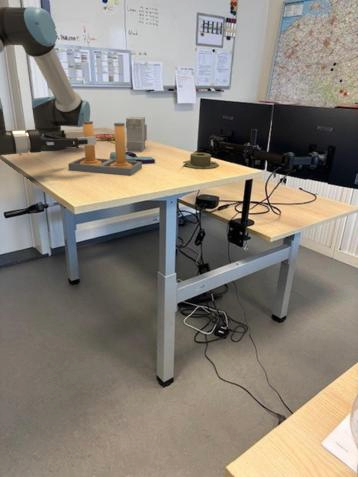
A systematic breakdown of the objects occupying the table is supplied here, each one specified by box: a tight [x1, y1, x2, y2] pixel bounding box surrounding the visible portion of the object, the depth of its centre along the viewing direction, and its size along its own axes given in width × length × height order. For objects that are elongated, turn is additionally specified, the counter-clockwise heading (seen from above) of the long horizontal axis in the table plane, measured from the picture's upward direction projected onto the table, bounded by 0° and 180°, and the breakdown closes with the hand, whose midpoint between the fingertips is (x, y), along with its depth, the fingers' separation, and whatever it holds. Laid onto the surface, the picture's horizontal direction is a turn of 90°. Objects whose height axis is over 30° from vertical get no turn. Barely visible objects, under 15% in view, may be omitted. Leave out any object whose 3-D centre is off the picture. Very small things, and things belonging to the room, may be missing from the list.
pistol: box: [109, 151, 156, 165], centre depth 146 cm, size 4×16×15 cm
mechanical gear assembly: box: [94, 133, 115, 145], centre depth 196 cm, size 30×4×15 cm
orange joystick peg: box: [80, 120, 102, 165], centre depth 130 cm, size 8×8×17 cm
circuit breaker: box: [125, 116, 148, 153], centre depth 174 cm, size 8×14×15 cm, turn 174°
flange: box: [182, 152, 219, 170], centre depth 148 cm, size 5×15×15 cm
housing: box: [67, 156, 143, 176], centre depth 132 cm, size 24×12×4 cm, turn 77°
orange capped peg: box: [110, 122, 132, 168], centre depth 128 cm, size 8×8×17 cm
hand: (89, 137), depth 129 cm, fingers open, 13 cm apart
